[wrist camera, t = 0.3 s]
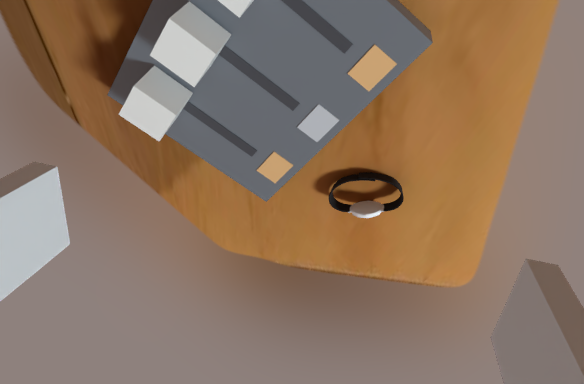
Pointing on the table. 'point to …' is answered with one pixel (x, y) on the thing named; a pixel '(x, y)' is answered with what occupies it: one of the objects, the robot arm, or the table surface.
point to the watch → (366, 207)
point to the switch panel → (280, 79)
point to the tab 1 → (155, 103)
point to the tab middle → (190, 43)
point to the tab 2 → (237, 5)
